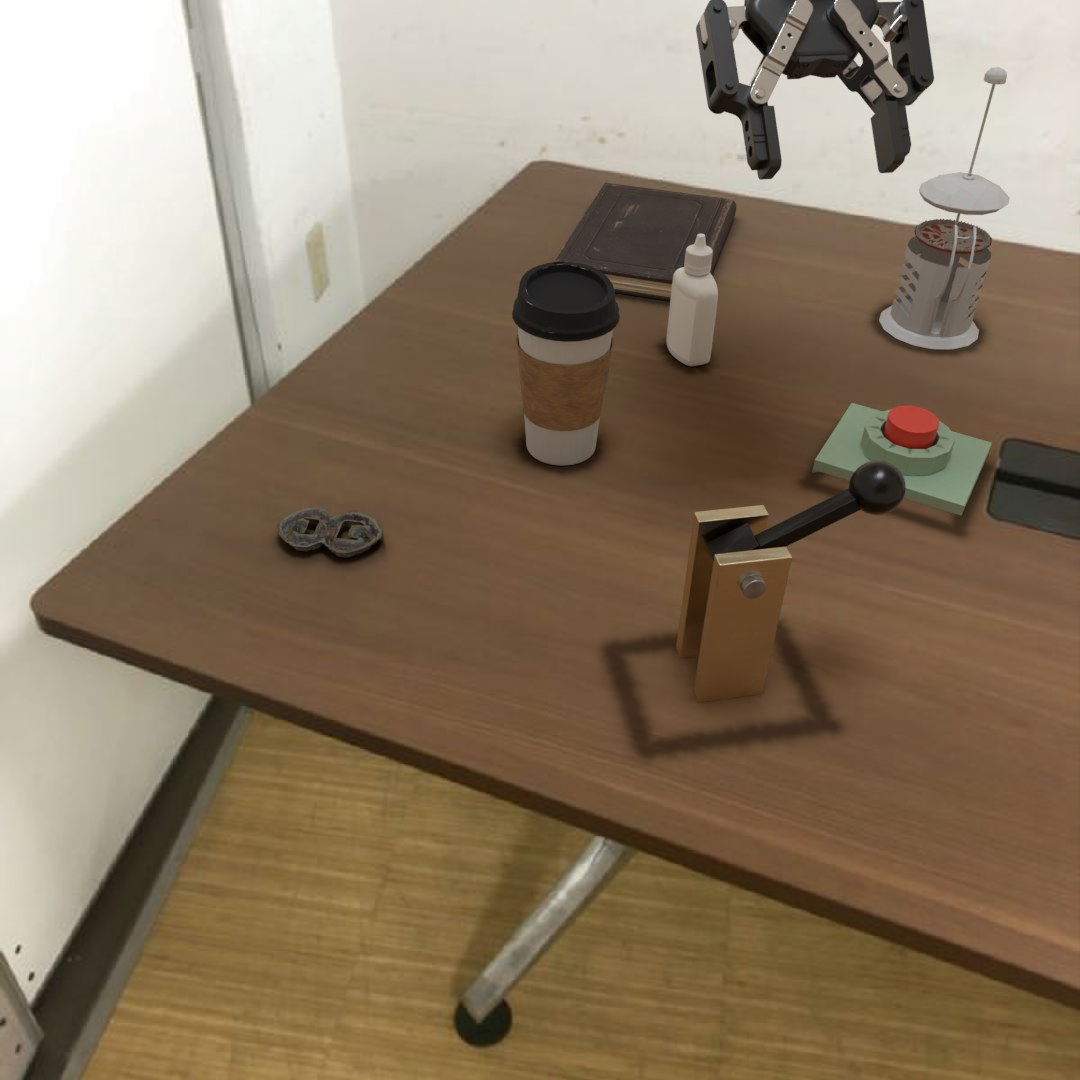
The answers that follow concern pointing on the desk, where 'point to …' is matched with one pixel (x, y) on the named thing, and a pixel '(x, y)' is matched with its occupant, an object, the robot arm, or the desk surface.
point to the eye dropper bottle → (693, 307)
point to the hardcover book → (646, 236)
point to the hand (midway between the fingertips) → (832, 170)
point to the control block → (907, 458)
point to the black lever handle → (824, 511)
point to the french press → (947, 258)
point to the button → (911, 427)
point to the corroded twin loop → (330, 531)
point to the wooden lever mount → (731, 606)
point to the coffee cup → (564, 357)
